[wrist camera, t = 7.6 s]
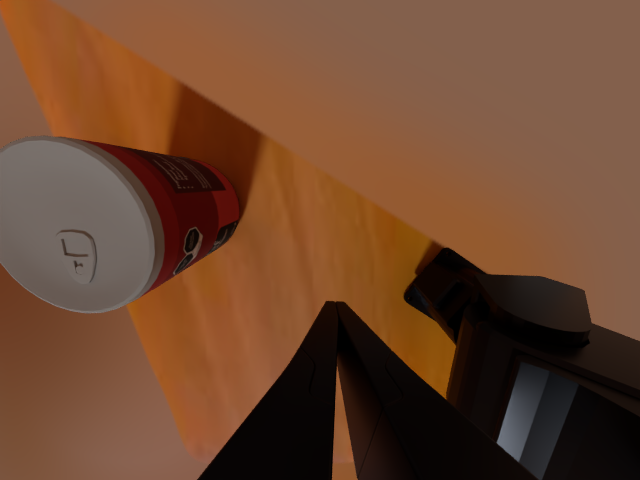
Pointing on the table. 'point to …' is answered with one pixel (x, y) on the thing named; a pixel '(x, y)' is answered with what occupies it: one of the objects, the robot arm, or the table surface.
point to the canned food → (106, 219)
